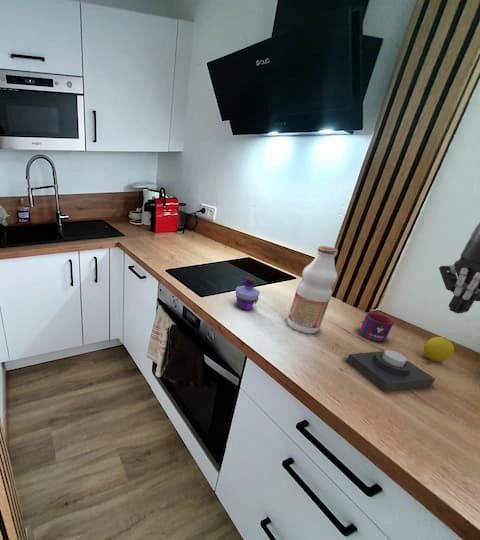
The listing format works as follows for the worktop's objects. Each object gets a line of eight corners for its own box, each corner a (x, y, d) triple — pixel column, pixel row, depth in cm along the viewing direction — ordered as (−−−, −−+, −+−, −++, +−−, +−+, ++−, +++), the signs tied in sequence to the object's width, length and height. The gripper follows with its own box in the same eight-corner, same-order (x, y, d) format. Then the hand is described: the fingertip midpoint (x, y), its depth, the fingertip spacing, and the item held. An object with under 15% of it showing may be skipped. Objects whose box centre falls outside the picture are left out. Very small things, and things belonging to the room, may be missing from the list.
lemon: (446, 369, 79) (461, 346, 76) (419, 360, 82) (431, 337, 79) (444, 360, 83) (458, 337, 80) (418, 351, 86) (430, 329, 83)
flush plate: (388, 357, 83) (394, 345, 81) (430, 386, 73) (439, 373, 71) (346, 361, 81) (351, 348, 79) (383, 391, 71) (391, 378, 69)
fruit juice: (296, 334, 93) (323, 253, 82) (281, 318, 101) (303, 243, 90) (324, 334, 93) (355, 254, 82) (307, 318, 101) (332, 244, 90)
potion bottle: (259, 314, 103) (266, 284, 99) (234, 311, 105) (240, 282, 100) (253, 302, 111) (259, 274, 106) (230, 300, 112) (235, 272, 108)
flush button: (391, 355, 78) (394, 349, 77) (408, 366, 74) (411, 360, 73) (377, 356, 77) (380, 350, 76) (393, 368, 73) (397, 362, 72)
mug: (361, 338, 92) (369, 320, 89) (355, 322, 100) (362, 306, 97) (387, 344, 89) (396, 326, 86) (379, 328, 97) (387, 311, 94)
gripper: (558, 251, 55) (507, 327, 62) (472, 232, 67) (436, 297, 74) (528, 252, 54) (479, 329, 61) (445, 232, 66) (412, 298, 73)
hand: (455, 311), depth 67 cm, fingers closed
